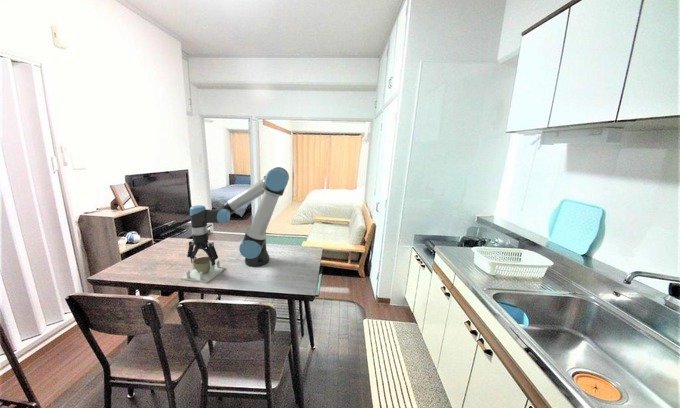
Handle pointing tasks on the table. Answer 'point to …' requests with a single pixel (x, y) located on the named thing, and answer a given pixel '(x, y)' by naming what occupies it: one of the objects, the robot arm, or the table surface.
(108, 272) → the table surface
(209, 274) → the tray
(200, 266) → the tan round bowl
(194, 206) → the robot arm
